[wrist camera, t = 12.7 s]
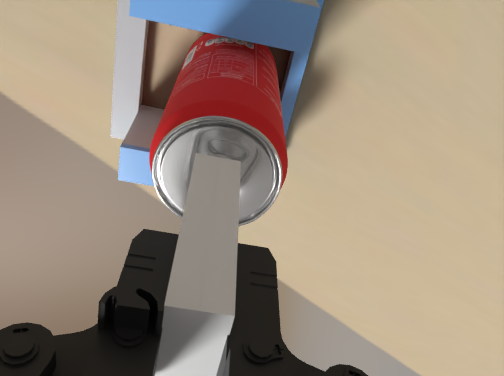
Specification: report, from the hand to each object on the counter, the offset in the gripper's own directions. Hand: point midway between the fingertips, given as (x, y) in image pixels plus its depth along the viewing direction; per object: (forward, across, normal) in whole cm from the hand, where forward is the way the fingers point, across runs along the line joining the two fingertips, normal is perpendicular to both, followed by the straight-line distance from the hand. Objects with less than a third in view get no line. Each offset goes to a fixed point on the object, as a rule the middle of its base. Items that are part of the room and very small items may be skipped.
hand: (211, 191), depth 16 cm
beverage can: (+13, 0, 0) cm, 13 cm away
